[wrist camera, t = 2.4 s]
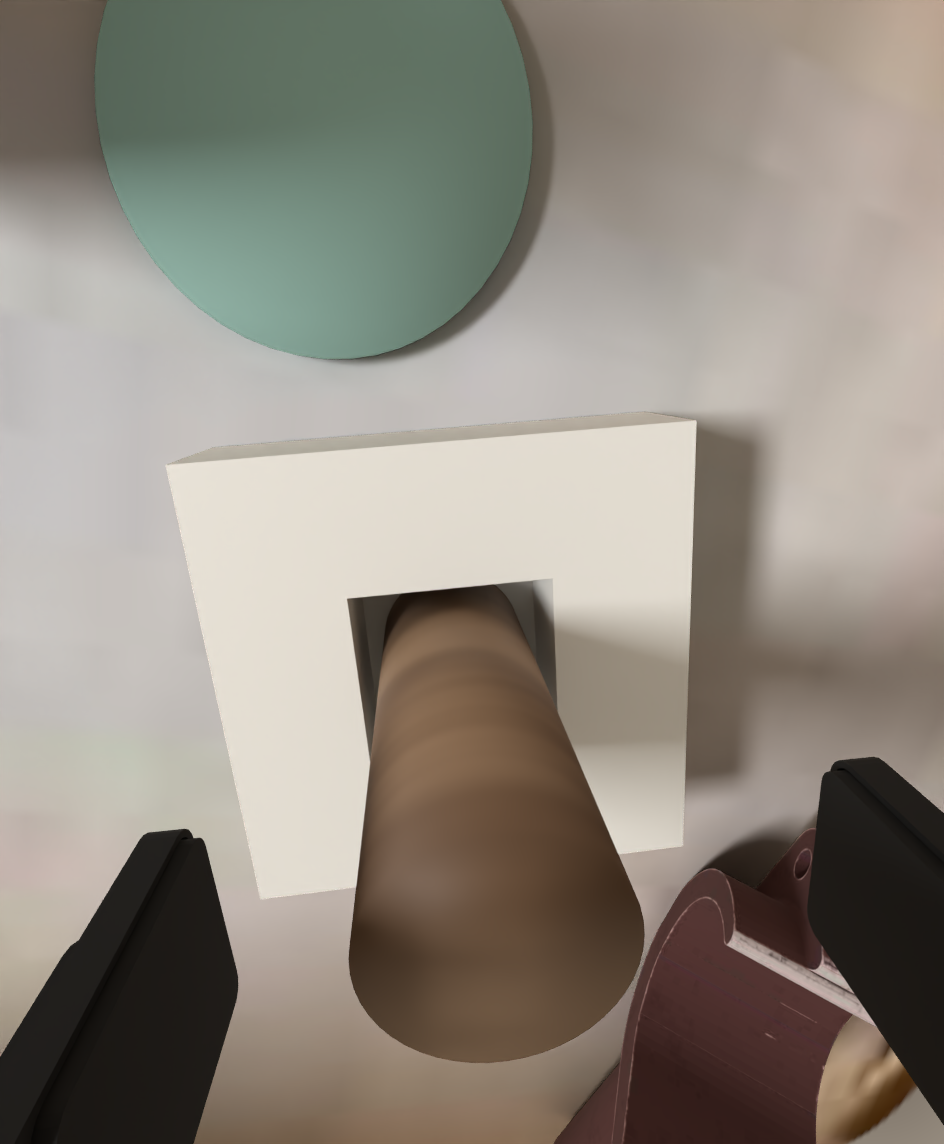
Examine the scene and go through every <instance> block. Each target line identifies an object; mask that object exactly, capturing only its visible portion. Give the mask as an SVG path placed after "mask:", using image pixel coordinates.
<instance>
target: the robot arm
mask: <svg viewBox="0 0 944 1144" xmlns="http://www.w3.org/2000/svg"><path fill="white" fill-rule="evenodd" d="M807 915H808V920H809V923H810V926H811V929H812V931H813V933H814V935H815V936H816V938H817V939H818V941H819V942H820V944H821V945H822V947H823V948H824V950H825V951H826V953H827V954H828V956H829V957H830V959H831V960H832V962H833V963H834V964H835V966H836V967H837V969H838V970H839V972H840V973H841V975H842V976H843V978H844V979H845V981H846V982H847V984H848V985H849V987H850V988H851V989H852V991H853V992H854V994H855V995H856V997H857V998H858V1000H859V1001H860V1003H861V1004H862V1006H863V1007H864V1009H865V1010H866V1012H867V1013H868V1015H869V1016H870V1017H871V1019H872V1020H873V1022H874V1023H875V1025H876V1026H877V1028H878V1029H879V1031H880V1032H881V1034H882V1035H883V1037H884V1038H885V1040H886V1041H887V1042H888V1044H889V1045H890V1047H891V1048H892V1050H893V1051H894V1053H895V1054H896V1056H897V1057H898V1059H899V1060H900V1062H901V1063H902V1065H903V1066H904V1067H905V1069H906V1070H907V1072H908V1073H909V1075H910V1076H911V1078H912V1079H913V1081H914V1082H915V1084H916V1085H917V1087H918V1088H919V1089H920V1091H921V1093H922V1094H923V1095H924V1097H925V1098H926V1100H927V1101H928V1103H929V1104H930V1106H931V1107H932V1109H933V1110H934V1112H935V1113H936V1115H937V1116H938V1118H939V1119H940V1120H941V1122H942V1123H943V1125H944V813H943V812H942V811H941V810H939V809H938V808H937V807H936V806H935V805H934V804H932V803H931V802H930V801H929V800H928V799H927V798H926V797H924V796H923V795H922V794H921V793H920V792H919V791H918V790H916V789H915V788H914V787H913V786H912V785H911V784H909V783H908V782H907V781H906V780H905V779H904V778H903V777H901V776H900V775H899V774H898V773H897V772H896V771H894V770H893V769H892V768H891V767H890V766H889V765H888V764H886V763H885V762H884V761H882V760H881V759H879V758H876V757H868V758H858V759H849V760H839V761H837V762H835V763H834V764H833V765H832V767H831V771H830V772H826V773H825V774H824V775H823V778H822V783H821V791H820V800H819V808H818V817H817V826H816V834H815V843H814V851H813V860H812V869H811V877H810V886H809V894H808V903H807ZM237 993H238V975H237V970H236V966H235V962H234V958H233V954H232V950H231V946H230V942H229V938H228V934H227V930H226V925H225V921H224V917H223V913H222V909H221V905H220V901H219V897H218V893H217V889H216V885H215V881H214V877H213V873H212V869H211V865H210V861H209V857H208V853H207V849H206V845H205V843H204V841H203V839H202V838H193V836H192V833H191V832H190V831H189V830H187V829H179V830H170V831H160V832H150V833H147V834H145V835H143V837H142V838H141V839H140V840H139V842H138V844H137V845H136V847H135V848H134V850H133V852H132V853H131V855H130V857H129V858H128V860H127V862H126V863H125V865H124V867H123V868H122V870H121V872H120V873H119V875H118V876H117V878H116V880H115V881H114V883H113V885H112V886H111V888H110V890H109V891H108V893H107V895H106V896H105V898H104V900H103V901H102V903H101V905H100V906H99V908H98V909H97V911H96V913H95V914H94V916H93V918H92V919H91V921H90V923H89V924H88V926H87V928H86V929H85V931H84V933H83V934H82V936H81V937H80V939H79V940H78V941H77V942H76V943H74V944H73V945H71V946H70V947H69V949H68V950H67V951H66V953H65V954H64V955H63V956H62V958H61V959H60V961H59V963H58V964H57V966H56V968H55V969H54V971H53V972H52V974H51V976H50V977H49V979H48V980H47V982H46V984H45V985H44V987H43V989H42V990H41V992H40V993H39V995H38V997H37V998H36V1000H35V1001H34V1003H33V1005H32V1006H31V1008H30V1010H29V1011H28V1013H27V1014H26V1016H25V1018H24V1019H23V1021H22V1023H21V1024H20V1026H19V1027H18V1029H17V1031H16V1032H15V1034H14V1035H13V1037H12V1039H11V1040H10V1042H9V1044H8V1045H7V1047H6V1048H5V1050H4V1052H3V1053H2V1055H1V1057H0V1144H193V1143H194V1140H195V1137H196V1133H197V1130H198V1127H199V1123H200V1120H201V1117H202V1113H203V1110H204V1107H205V1103H206V1100H207V1097H208V1093H209V1090H210V1087H211V1083H212V1080H213V1077H214V1073H215V1070H216V1067H217V1063H218V1060H219V1057H220V1053H221V1050H222V1047H223V1043H224V1040H225V1037H226V1034H227V1030H228V1027H229V1024H230V1020H231V1017H232V1014H233V1010H234V1007H235V1003H236V999H237Z"/></svg>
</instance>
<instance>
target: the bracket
mask: <svg viewBox="0 0 944 1144" xmlns="http://www.w3.org/2000/svg"><path fill="white" fill-rule="evenodd" d="M815 834H816V828H810V829H807V830H806V831H804V832H803V833H802V834H801V835H800V836H799V837H798V838H797V840H796V841H795V842H794V843H793V845H792V846H791V847H790V848H789V849H788V851H787V852H786V853H785V854H784V855H783V857H782V858H781V859H780V860H779V861H778V863H777V864H776V865H775V866H774V868H773V869H772V870H771V871H770V872H769V874H768V875H767V876H766V877H765V878H764V880H763V881H762V882H761V883H760V884H759V886H758V887H757V888H756V889H753V888H751V887H750V886H748V885H746V884H744V883H742V882H740V881H738V880H736V879H734V878H732V877H731V876H729V875H727V874H725V873H723V872H721V871H719V870H717V869H707V870H704V871H702V872H700V873H699V874H697V875H696V876H695V877H693V878H692V879H691V880H690V881H689V882H688V883H687V884H686V886H685V887H684V888H683V889H682V890H681V892H680V894H679V895H678V897H677V899H676V900H675V902H674V904H673V905H672V907H671V909H670V911H669V912H668V914H667V916H666V917H665V919H664V921H663V922H662V924H661V926H660V928H659V929H658V931H657V933H656V935H655V937H654V940H653V942H652V944H651V947H650V949H649V951H648V954H647V957H646V959H645V962H644V965H643V967H642V970H641V973H640V976H639V979H638V982H637V985H636V989H635V992H634V996H633V999H632V1003H631V1007H630V1011H629V1015H628V1019H627V1024H626V1029H625V1034H624V1039H623V1045H622V1052H621V1060H620V1063H619V1064H618V1065H617V1067H616V1068H615V1069H614V1070H613V1071H612V1073H611V1074H610V1075H609V1076H608V1077H607V1079H606V1080H605V1081H604V1082H603V1083H602V1085H601V1086H600V1087H599V1088H598V1089H597V1091H596V1092H595V1093H594V1094H593V1095H592V1097H591V1098H590V1099H589V1100H588V1101H587V1102H586V1104H585V1105H584V1106H583V1107H582V1108H581V1110H580V1111H579V1112H578V1113H577V1114H576V1116H575V1117H574V1118H573V1119H572V1120H571V1122H570V1123H569V1124H568V1125H567V1126H566V1128H565V1129H564V1130H563V1131H562V1132H561V1134H560V1135H559V1136H558V1137H557V1139H556V1140H555V1142H554V1144H816V1112H817V1102H818V1094H819V1089H820V1083H821V1079H822V1075H823V1071H824V1067H825V1064H826V1061H827V1058H828V1055H829V1053H830V1050H831V1048H832V1046H833V1043H834V1041H835V1039H836V1038H837V1036H838V1034H839V1032H840V1031H841V1029H842V1027H843V1026H844V1025H845V1023H846V1022H847V1021H848V1019H849V1018H850V1017H851V1016H852V1015H855V1016H857V1017H859V1018H861V1019H862V1020H864V1021H866V1022H868V1023H870V1024H871V1025H873V1026H875V1027H877V1026H876V1025H875V1023H874V1022H873V1020H872V1019H871V1017H870V1016H869V1015H868V1013H867V1012H866V1010H865V1009H864V1007H863V1006H862V1004H861V1003H860V1001H859V1000H858V998H857V997H856V995H855V994H854V992H853V991H852V989H851V988H850V987H849V985H848V984H847V982H846V981H845V979H844V978H843V976H842V975H841V973H840V972H839V970H838V969H837V967H836V966H835V964H834V963H833V962H832V960H831V959H830V957H829V956H828V954H827V953H826V951H825V950H824V948H823V947H822V945H821V944H820V942H819V941H818V939H817V938H816V936H815V935H814V933H813V931H812V929H811V926H810V923H809V920H808V915H807V903H808V894H809V886H810V877H811V869H812V860H813V851H814V843H815Z"/></svg>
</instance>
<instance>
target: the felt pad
mask: <svg viewBox="0 0 944 1144" xmlns="http://www.w3.org/2000/svg"><path fill="white" fill-rule="evenodd" d="M94 83H95V108H96V117H97V124H98V130H99V136H100V143H101V147H102V151H103V155H104V158H105V162H106V165H107V169H108V173H109V176H110V179H111V182H112V184H113V187H114V189H115V192H116V194H117V197H118V199H119V202H120V204H121V207H122V209H123V211H124V213H125V215H126V217H127V218H128V220H129V222H130V224H131V226H132V228H133V230H134V232H135V233H136V235H137V237H138V239H139V240H140V241H141V243H142V244H143V246H144V247H145V249H146V250H147V252H148V253H149V255H150V256H151V258H152V259H153V260H154V262H155V263H156V264H157V266H158V267H159V268H160V269H161V270H162V271H163V273H164V274H165V275H166V276H167V277H168V278H169V280H170V281H171V282H172V283H173V284H174V285H175V286H176V287H177V288H178V289H179V290H180V291H181V292H182V293H183V294H184V295H185V296H186V297H187V298H188V299H190V300H191V301H192V302H193V303H194V304H195V305H196V306H197V307H198V308H200V309H201V310H203V311H204V312H205V313H207V314H208V315H209V316H211V317H212V318H214V319H215V320H216V321H218V322H219V323H220V324H222V325H224V326H225V327H227V328H229V329H231V330H233V331H234V332H236V333H238V334H240V335H242V336H243V337H245V338H247V339H250V340H252V341H255V342H257V343H260V344H262V345H264V346H267V347H269V348H272V349H276V350H280V351H283V352H287V353H291V354H295V355H299V356H306V357H314V358H322V359H355V358H361V357H368V356H375V355H379V354H382V353H386V352H389V351H393V350H396V349H400V348H402V347H404V346H406V345H408V344H411V343H413V342H415V341H417V340H420V339H422V338H423V337H425V336H427V335H428V334H430V333H431V332H433V331H435V330H436V329H438V328H439V327H441V326H442V325H444V324H445V323H446V322H447V321H449V320H450V319H451V318H452V317H453V316H455V315H456V314H457V313H458V312H459V311H460V310H462V309H463V308H464V307H465V305H466V304H467V303H468V302H469V301H470V300H471V299H472V298H473V297H474V296H475V294H476V293H477V292H478V291H479V290H480V289H481V288H482V286H483V285H484V283H485V282H486V280H487V279H488V278H489V276H490V275H491V273H492V272H493V270H494V269H495V268H496V266H497V265H498V263H499V261H500V259H501V257H502V255H503V253H504V251H505V250H506V248H507V246H508V244H509V242H510V240H511V237H512V235H513V232H514V230H515V227H516V224H517V222H518V219H519V216H520V214H521V210H522V206H523V202H524V198H525V194H526V190H527V186H528V181H529V173H530V165H531V158H532V127H533V121H532V110H531V100H530V90H529V85H528V80H527V75H526V70H525V65H524V61H523V56H522V53H521V50H520V47H519V44H518V41H517V38H516V35H515V32H514V29H513V26H512V24H511V21H510V19H509V17H508V15H507V13H506V10H505V8H504V6H503V4H502V2H501V0H108V1H107V4H106V7H105V10H104V13H103V18H102V23H101V28H100V32H99V37H98V42H97V51H96V63H95V75H94Z"/></svg>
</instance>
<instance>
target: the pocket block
mask: <svg viewBox="0 0 944 1144" xmlns="http://www.w3.org/2000/svg"><path fill="white" fill-rule="evenodd" d="M696 424H697V420H692V419H686V418H679V417H673V416H667V415H661V414H655V413H649V412H635V413H623V414H611V415H599V416H587V417H575V418H563V419H551V420H539V421H527V422H515V423H502V424H490V425H478V426H466V427H454V428H442V429H430V430H418V431H406V432H394V433H382V434H370V435H358V436H345V437H333V438H321V439H309V440H297V441H285V442H273V443H261V444H249V445H237V446H225V447H213V448H210V449H208V450H205V451H202V452H200V453H197V454H194V455H191V456H189V457H186V458H183V459H180V460H178V461H175V462H172V463H170V464H167V465H166V469H167V474H168V478H169V483H170V487H171V492H172V497H173V501H174V506H175V510H176V515H177V519H178V524H179V529H180V533H181V538H182V542H183V547H184V551H185V556H186V561H187V565H188V570H189V574H190V579H191V584H192V588H193V593H194V597H195V602H196V606H197V611H198V616H199V620H200V625H201V629H202V634H203V638H204V643H205V648H206V652H207V657H208V661H209V666H210V671H211V675H212V680H213V684H214V689H215V693H216V698H217V703H218V707H219V712H220V716H221V721H222V725H223V730H224V735H225V739H226V744H227V748H228V753H229V758H230V762H231V767H232V771H233V776H234V780H235V785H236V790H237V794H238V799H239V803H240V808H241V812H242V817H243V822H244V826H245V831H246V835H247V840H248V845H249V849H250V854H251V858H252V863H253V867H254V872H255V877H256V881H257V886H258V890H259V895H260V899H268V898H276V897H284V896H292V895H300V894H308V893H315V892H323V891H331V890H339V889H347V888H355V887H356V885H357V876H358V867H359V858H360V849H361V840H362V831H363V822H364V813H365V804H366V795H367V786H368V777H369V768H370V760H371V751H372V742H373V733H374V724H375V715H376V706H377V697H378V688H379V679H380V670H381V661H382V652H383V643H384V634H385V626H386V621H387V617H388V615H389V612H390V610H391V608H392V606H393V604H394V602H395V601H396V600H397V598H398V597H399V596H400V595H401V594H402V593H410V592H420V591H430V590H440V589H450V588H460V587H471V586H481V585H491V584H494V585H496V586H497V587H498V588H499V589H500V590H501V591H502V592H503V593H504V594H505V595H506V596H507V598H508V599H509V601H510V602H511V604H512V606H513V608H514V611H515V613H516V615H517V618H518V620H519V622H520V625H521V627H522V629H523V632H524V634H525V636H526V639H527V641H528V643H529V646H530V648H531V651H532V653H533V655H534V658H535V660H536V662H537V665H538V667H539V669H540V672H541V674H542V676H543V679H544V681H545V683H546V686H547V688H548V690H549V693H550V695H551V697H552V700H553V702H554V705H555V707H556V709H557V712H558V714H559V716H560V719H561V721H562V723H563V726H564V728H565V730H566V733H567V735H568V737H569V740H570V742H571V744H572V747H573V749H574V752H575V754H576V756H577V759H578V761H579V763H580V766H581V768H582V770H583V773H584V775H585V777H586V780H587V782H588V784H589V787H590V789H591V791H592V794H593V796H594V798H595V801H596V803H597V806H598V808H599V810H600V813H601V815H602V817H603V820H604V822H605V824H606V827H607V829H608V831H609V834H610V836H611V838H612V841H613V843H614V845H615V848H616V850H617V853H618V854H626V853H634V852H642V851H650V850H658V849H665V848H673V847H681V846H683V828H684V796H685V765H686V734H687V703H688V672H689V641H690V610H691V579H692V548H693V517H694V486H695V455H696Z"/></svg>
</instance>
